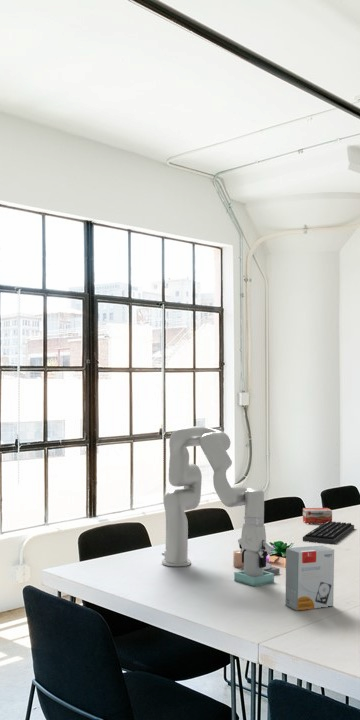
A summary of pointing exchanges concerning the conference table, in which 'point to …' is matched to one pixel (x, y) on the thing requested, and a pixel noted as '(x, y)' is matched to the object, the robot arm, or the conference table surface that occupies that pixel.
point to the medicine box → (317, 515)
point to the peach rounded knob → (237, 559)
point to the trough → (254, 578)
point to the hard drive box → (309, 577)
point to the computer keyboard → (329, 532)
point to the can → (252, 564)
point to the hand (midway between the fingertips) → (253, 564)
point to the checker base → (271, 570)
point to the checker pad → (267, 566)
